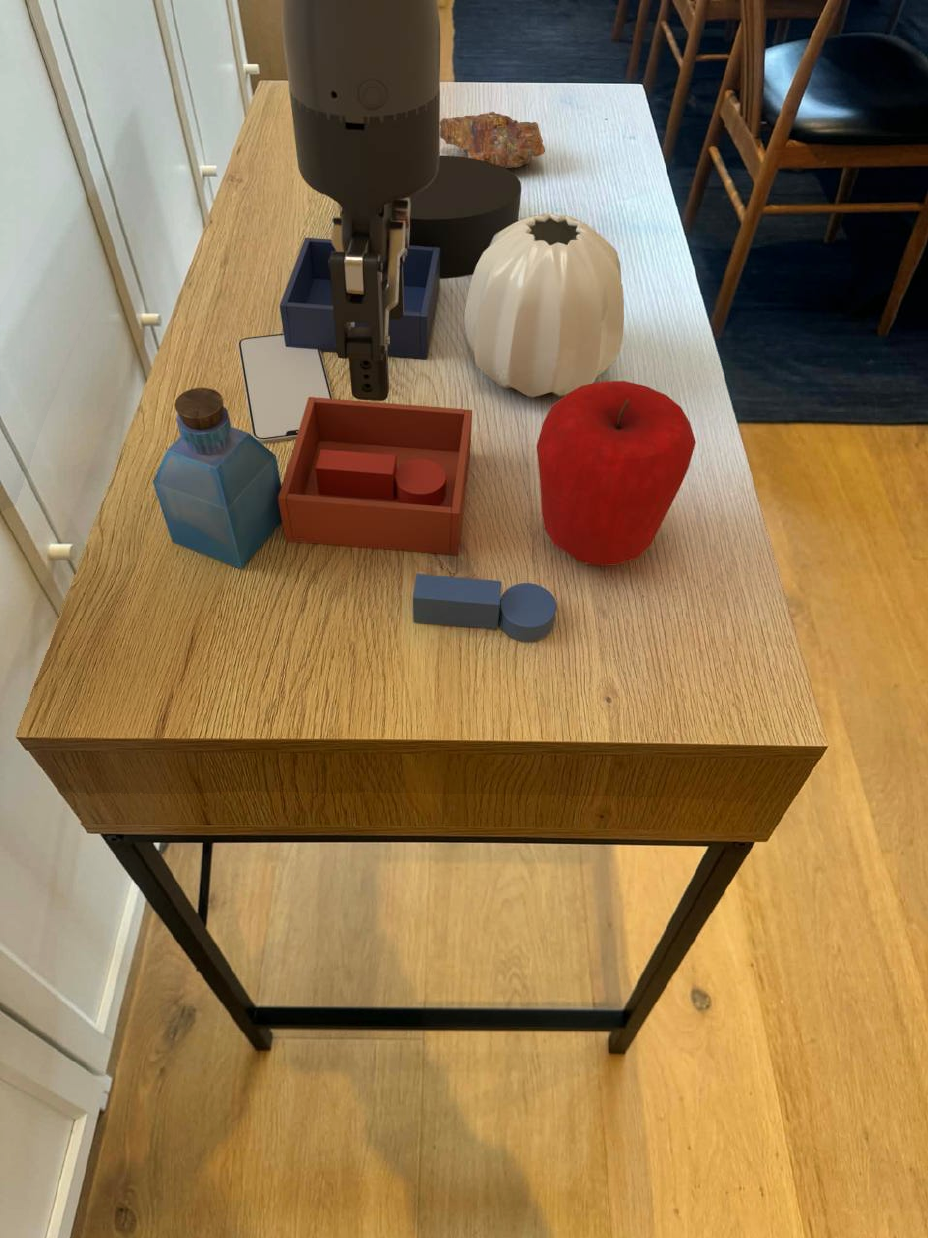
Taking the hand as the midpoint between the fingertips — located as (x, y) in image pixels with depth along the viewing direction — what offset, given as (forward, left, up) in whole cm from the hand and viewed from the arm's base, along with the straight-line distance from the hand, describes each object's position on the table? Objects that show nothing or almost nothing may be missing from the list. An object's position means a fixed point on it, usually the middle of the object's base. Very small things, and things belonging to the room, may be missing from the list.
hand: (379, 354), depth 57 cm
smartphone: (-11, +16, -16) cm, 26 cm away
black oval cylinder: (-1, +42, -16) cm, 45 cm away
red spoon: (-1, +3, -15) cm, 15 cm away
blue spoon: (+8, -8, -16) cm, 19 cm away
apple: (+16, 0, -16) cm, 22 cm away
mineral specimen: (+4, +61, -16) cm, 63 cm away
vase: (+11, +21, -16) cm, 29 cm away
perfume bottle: (-12, -2, -16) cm, 20 cm away
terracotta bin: (-1, +3, -16) cm, 16 cm away
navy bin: (-6, +27, -16) cm, 32 cm away
